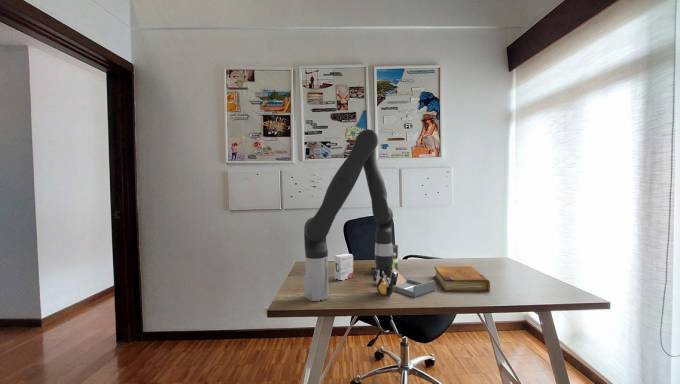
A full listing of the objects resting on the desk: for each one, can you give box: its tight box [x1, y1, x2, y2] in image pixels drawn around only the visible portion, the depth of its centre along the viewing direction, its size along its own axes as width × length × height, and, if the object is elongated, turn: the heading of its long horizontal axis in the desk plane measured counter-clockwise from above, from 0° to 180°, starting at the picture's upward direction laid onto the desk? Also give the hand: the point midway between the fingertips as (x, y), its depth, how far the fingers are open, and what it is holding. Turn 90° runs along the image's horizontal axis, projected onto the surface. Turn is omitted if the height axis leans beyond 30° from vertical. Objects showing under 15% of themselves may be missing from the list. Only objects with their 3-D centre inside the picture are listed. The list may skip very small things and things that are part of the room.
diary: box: [433, 265, 491, 293], centre depth 152 cm, size 23×19×6 cm
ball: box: [378, 282, 387, 296], centre depth 139 cm, size 5×5×5 cm
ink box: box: [334, 253, 354, 281], centre depth 163 cm, size 9×5×12 cm, turn 129°
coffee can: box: [392, 243, 399, 272], centre depth 173 cm, size 10×10×14 cm
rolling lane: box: [374, 267, 436, 298], centre depth 148 cm, size 13×24×6 cm, turn 37°
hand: (384, 293), depth 139 cm, fingers closed on ball, 5 cm apart
